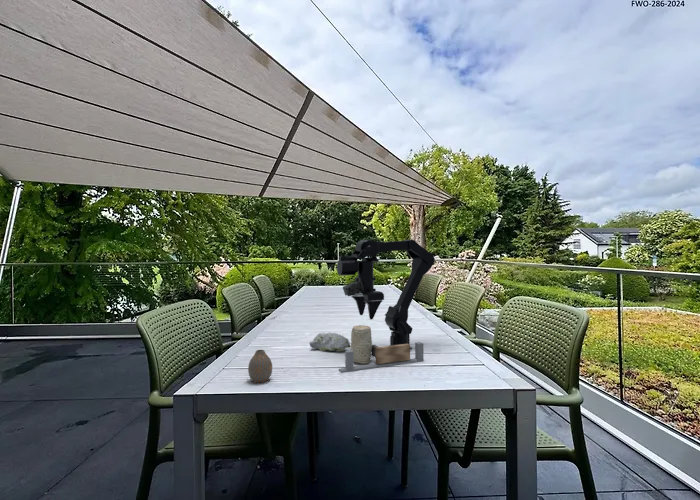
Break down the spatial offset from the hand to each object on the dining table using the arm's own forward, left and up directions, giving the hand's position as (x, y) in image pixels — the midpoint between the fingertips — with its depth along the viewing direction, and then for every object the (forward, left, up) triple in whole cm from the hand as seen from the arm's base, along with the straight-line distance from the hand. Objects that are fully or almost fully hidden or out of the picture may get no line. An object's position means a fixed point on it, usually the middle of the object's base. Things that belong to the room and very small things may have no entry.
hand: (366, 317), depth 137 cm
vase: (+40, +14, -13) cm, 44 cm away
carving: (+6, +10, -13) cm, 18 cm away
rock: (+11, -9, -13) cm, 19 cm away
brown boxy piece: (-3, +13, -12) cm, 18 cm away
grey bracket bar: (+1, +16, -13) cm, 21 cm away
